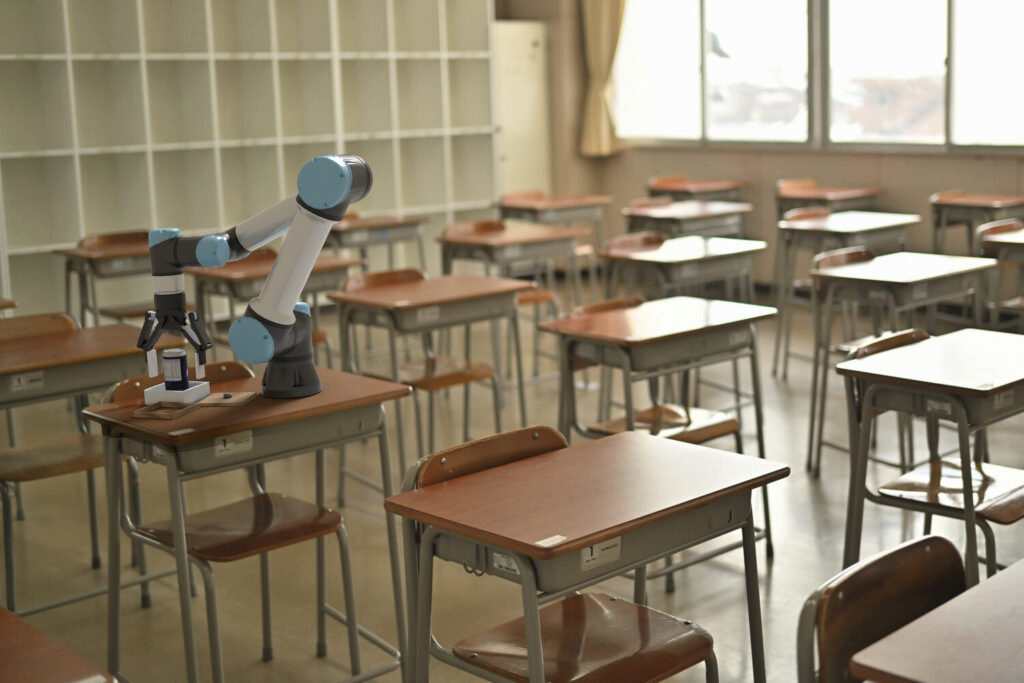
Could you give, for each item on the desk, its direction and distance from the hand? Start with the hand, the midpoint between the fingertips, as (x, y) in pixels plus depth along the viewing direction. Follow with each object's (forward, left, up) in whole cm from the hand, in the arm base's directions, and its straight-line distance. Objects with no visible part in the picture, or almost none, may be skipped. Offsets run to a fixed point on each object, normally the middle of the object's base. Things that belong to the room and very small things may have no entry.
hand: (177, 377), depth 293 cm
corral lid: (-13, -2, -6) cm, 14 cm away
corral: (-5, +12, -6) cm, 14 cm away
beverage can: (0, 0, -5) cm, 5 cm away
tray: (0, 0, -6) cm, 6 cm away
